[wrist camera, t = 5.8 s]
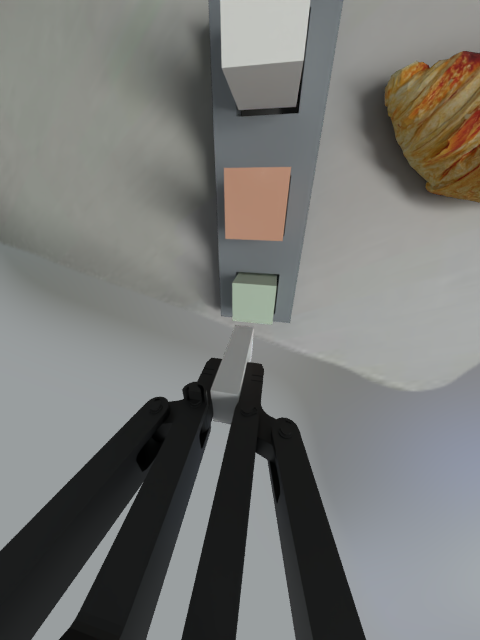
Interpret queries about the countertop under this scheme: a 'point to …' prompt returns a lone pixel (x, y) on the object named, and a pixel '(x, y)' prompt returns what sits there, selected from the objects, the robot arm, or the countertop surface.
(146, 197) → the countertop surface
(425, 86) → the croissant
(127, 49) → the countertop surface
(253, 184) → the key terracotta
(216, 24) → the grey slotted tray
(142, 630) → the robot arm
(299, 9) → the key white
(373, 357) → the countertop surface
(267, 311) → the key sage
